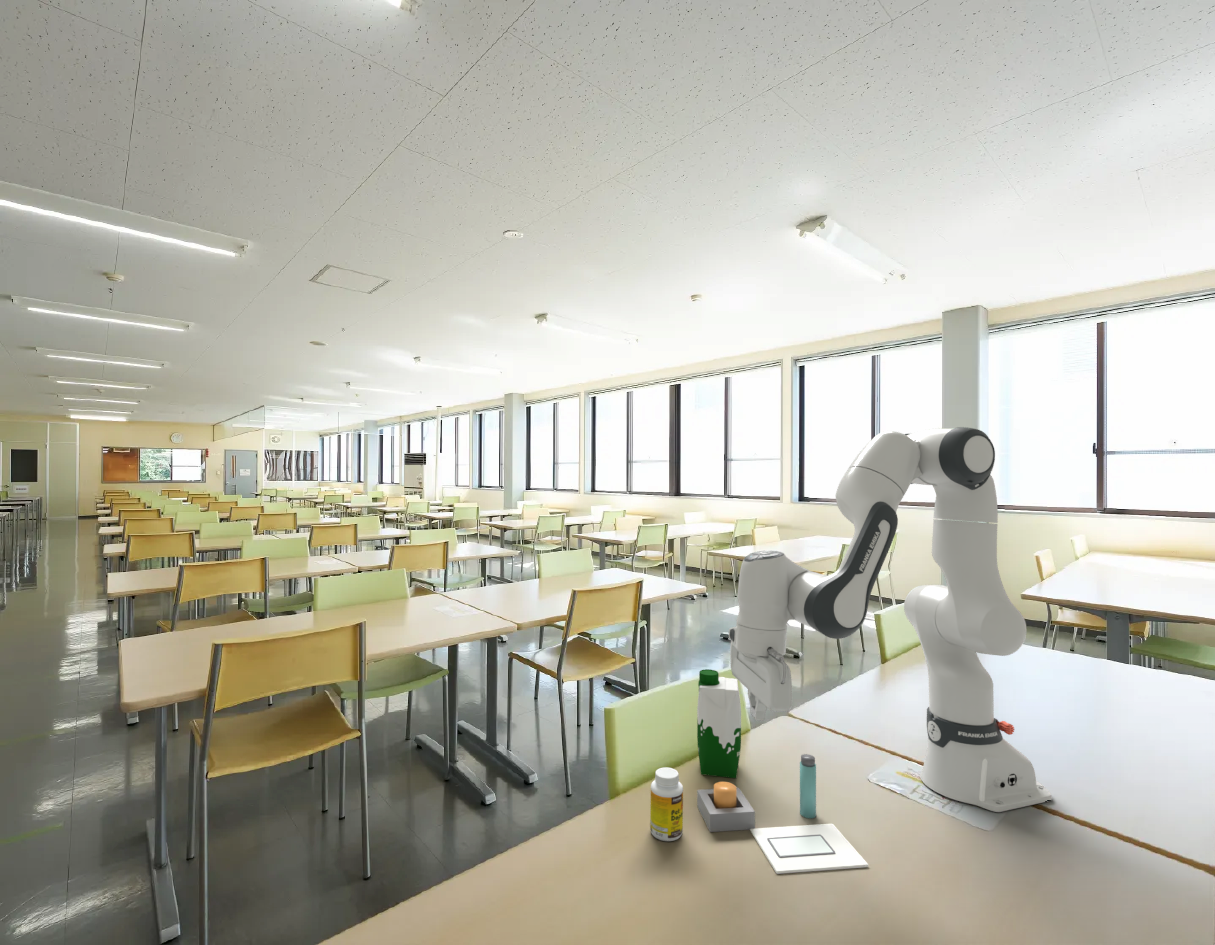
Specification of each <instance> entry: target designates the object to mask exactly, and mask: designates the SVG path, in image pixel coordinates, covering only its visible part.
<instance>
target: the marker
mask: <svg viewBox="0 0 1215 945" xmlns="http://www.w3.org/2000/svg"><path fill="white" fill-rule="evenodd" d="M799 815H800V816H802V817H804V818H806V819H815V818H816V817H817V764H816V758H815V756H813V755H812V754H808V753H806V754H805V753H803V754H801V755H800V761H799Z"/></svg>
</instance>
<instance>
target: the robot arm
mask: <svg viewBox="0 0 1215 945" xmlns="http://www.w3.org/2000/svg"><path fill="white" fill-rule="evenodd" d="M995 461H996V450H995V447H994V445H993V442H992V441H991V439H990V437H989V436H988V434H987V433H986V432H984V431H982V430H980V429H977V428H973V427H966V426H965V427H964V426H957V427H955V428H950V427H945V428H943V427H941V428H932V429H926V430H923V431H917V432H914V433H905V434H904V433H902V432H899V431H892V430H887V431H882V432H879V433H877V434H876V435H875V436H873V438H872V439H871V440H869V442H868V443H866V445H865V446H864V447H863V448H862V450H861V451H859V453H858V454H857V455H856V457H855V458H854V459H853V461H852V463H851V464H850V465H849V467H848V468H847V470H846V472H845V473H844V475H843V477H842V478H841V480H840V481H839V484H838V486H837V488H836V492H835V501H836V505H837V508H838V510H839V512H840V513H841V514H842V516H844V518H846V520H848V521H849V522H850V523H851V524H853V526H854V535H853V537H852V538H851V541H850V544H849V545H848V548H847V550H846V552H845V554H844V556H843V559H842V561H841V563H840V564H839V567H838V568H837V569H836V571H834V572H833V573H831V574H829V575H826V574H822V573H819V572H816V571H812V570H809V569H808V568H806V567H803V566H801V565H799V564H798V563H795V562H794V561H792V560H791V559H790V558H789V557H787V555H786V554H785V553H784V552H782V551H778V550H761V551H754V552H752V553H749V554H748V555H746V556H745V557H744V558H743V560H742V563H741V564H740V565H741V566H740V570H739V575H738V576H739V577H738V586H737V587H738V588H737V601H738V606H739V607H738V608H739V609H738V610H739V611H738V615H737V616H736V626H732V627H729V628H728V638H729V640H730V646H729V647H730V648H729V651H730V652H729V654H730V656H729V658H730V669H731V670H730V671H731V674H732V676H733V677H734V678H735V679H737V681H739V682H740V683H741V684H742V685H743V686H744V687H745V688H746V689H747V696H748V702H749V715H751V716H752V717H753V718H754V719H755V721H756V722H764V721H765V720H766V712H767V710H769V711H770V712H774V713H775V712H776V713H777V712H778V713H784V712H790V710H791V708H792V706H793V685H792V684H793V683H792V680H793V679H792V673H791V669H790V666H789V665H788V664H787V663H786V662H785V660H784V659H785V657H784V656H785V654H786V653H787V633H788V632H787V629H788V624H787V623H788V622H789V621H792V620H794V621H796V622H799V623H800V624H802V625H805V626H808V627H810V628H812V629H813V630H815V631H816V632H818V633H820V634H821V635H823V636H826V637H828V638H830V639H834V640H839V639H845V638H848V637H849V636H852V635H853V634H855V633H856V632H857V631H858V630H859V629H860V628H861V627H862V625H863V623H864V622H865V619H866V616H867V613H868V609H869V603H870V598H871V594H872V591H873V588H874V587H875V585H876V584H875V583H876V581H877V579H878V577H879V574H880V572H881V571H882V567H883V565H884V562H885V560H886V558H887V555H888V553H889V551H890V548H891V546H892V543H893V541H894V538H895V535H896V532H897V530H898V522H899V519H898V514H897V510H898V508H899V506H900V503H901V502H902V500H903V498H904V496H905V495H906V493H907V491H908V489H909V488H910V485H913V484H914V485H915V484H916V485H926V486H932V487H933V489H934V491H935V495H936V496H935V501H934V508H933V523H932V537H931V538H932V539H931V542H932V543H931V556H932V559H933V560H934V562H935V563H936V564H937V566H938V567H939V568H940V570H941V571H942V574H943V576H944V580H945V583H946V585H942V584H923V585H922V584H921V585H918V586H915V587H913V588H912V589H911V590H910V591H909V592H908V594H907V595H906V597H905V599H904V603H903V604H904V605H903V611H904V615H905V617H906V619H907V620H908V622H910V624H911V625H912V627H913V629H914V630H915V632H916V635H917V637H918V640H919V642H920V647H921V648H922V652H923V655H924V656H923V657H924V658H925V659H924V660H925V662H926V667H927V676H928V677H927V678H928V704H929V706H928V707H927V708H926V731H927V732H926V733H927V737H928V738H927V746H926V753H925V758H924V761H923V762H924V763H923V766H922V769H921V772H920V775H919V777H920V780H921V781H922V782H923V784H924V785H925V786H926V787H927V788H929V789H930V790H933V791H934V792H935V793H938V794H940V795H942V796H944V797H946V798H949V799H951V800H954V801H957V802H958V801H959V802H961V803H965V804H970V805H973V806H978V807H980V808H983V809H984V810H985V809H986V810H988V811H991V812H995V813H1001V812H1006V811H1010V810H1015V809H1020V808H1024V807H1028V806H1033V805H1037V804H1038V805H1039V804H1041V803H1046V802H1045V801H1047V800H1051V801H1053V797H1052V793H1051V792H1050V790H1049V789H1048V788H1047V787H1045V785H1043V784H1042V783H1040V782H1039V781H1038V780H1037V779H1036V778H1037V776H1036V771H1035V768H1034V766H1033V764H1032V762H1031V760H1030V759H1029V758H1028V757H1027V756H1025V754H1024V753H1022V752H1021V751H1020V750H1018V749H1017V748H1016V747H1014V746H1013V745H1012V744H1011V743H1010V742H1009V741H1007V740H1006V739H1004V737H1003V734H1002V732H1003V733H1005V734H1006V735H1009V736H1010V735H1014V733H1015V727H1014V725H1013V724H1012V723H1009V722H1007V721H1006V720H1001V721H999V719H997V718H996V717H994V716H995V714H994V713H995V712H994V711H995V708H994V706H995V705H994V704H995V703H994V699H995V698H994V681H993V679H992V676H991V675H990V673H989V672H988V670H987V669H986V668H985V667H984V666H983V664H982V662H981V660H980V659H979V656H978V654H983V655H989V656H1001V657H1005V656H1006V657H1008V656H1011V655H1012V654H1015V653H1016V652H1018V651H1019V649H1020V648H1021V647H1022V646H1023V645H1024V642H1025V641H1026V637H1027V629H1028V628H1027V622H1026V619H1025V618H1024V616H1023V614H1022V613H1021V612H1020V611H1019V610H1018V608H1017V607H1016V606H1015V605H1014V604H1013V603H1012V601H1011V600H1010V598H1009V596H1008V594H1007V592H1006V589H1005V587H1004V585H1003V581H1002V579H1001V575H1000V570H999V564H998V556H997V555H998V554H997V553H998V540H997V539H998V522H999V521H998V518H999V516H998V514H999V513H998V512H999V511H998V510H999V509H998V497H997V491H996V485H995V480H994V478H993V476H992V475H991V474H992V472H993V468H994V466H995ZM1047 802H1048V801H1047Z"/></svg>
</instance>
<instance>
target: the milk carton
mask: <svg viewBox="0 0 1215 945" xmlns="http://www.w3.org/2000/svg"><path fill="white" fill-rule="evenodd" d="M698 672H699V673H698V674H699V676H698V677H699V678H698V679H699V680H698V683H697V685H698V696H697V697H698V698H697V707H696V708H697V710H696V711H697V712H696V714H697V718H696V720H697V722H696V723H697V725H696V726H697V728H696V729H697V730H696V731H697V732H696V736H697V752H698V761H699V769H700V775H703V776H704V775H705V776H710V777H711V776H712V777H720V778H721V777H722V778H728V779H729V778H731V779H737V775H738V769H739V762H740V756H741V748H742V746H741V745H742V707H741V704H742V703H741V696H740V690H739V689H740V688H739V682H738V681H739V680H738V679H737V678H732V677H731V678H730V677H724V676H720V675H719V671H717V670H716V669H701V670H700V671H698Z"/></svg>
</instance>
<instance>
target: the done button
mask: <svg viewBox="0 0 1215 945" xmlns="http://www.w3.org/2000/svg"><path fill="white" fill-rule="evenodd" d="M737 788H738V787H737V786H736V785H735V784H733V783H731V782H728V781H718V782H715V783H714V784H713V789H714V806H715V808H716V809H723V808H736V797H737Z"/></svg>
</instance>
